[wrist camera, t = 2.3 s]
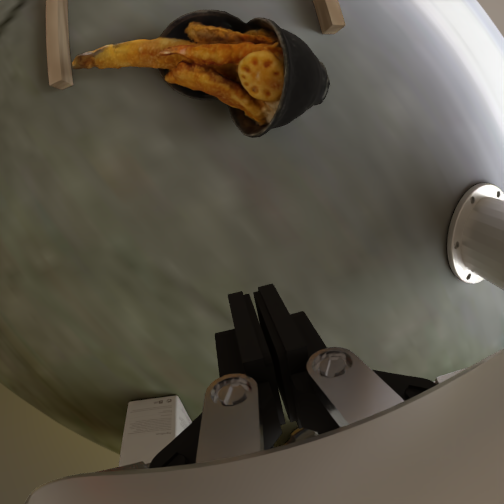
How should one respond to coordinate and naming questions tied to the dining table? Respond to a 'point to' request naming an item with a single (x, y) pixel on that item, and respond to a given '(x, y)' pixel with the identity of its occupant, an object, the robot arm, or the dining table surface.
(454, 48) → the dining table surface
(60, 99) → the dining table surface
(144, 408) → the skincare box
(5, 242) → the dining table surface
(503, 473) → the robot arm
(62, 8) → the serving frame
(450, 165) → the dining table surface
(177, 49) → the fried shrimp in bowl
